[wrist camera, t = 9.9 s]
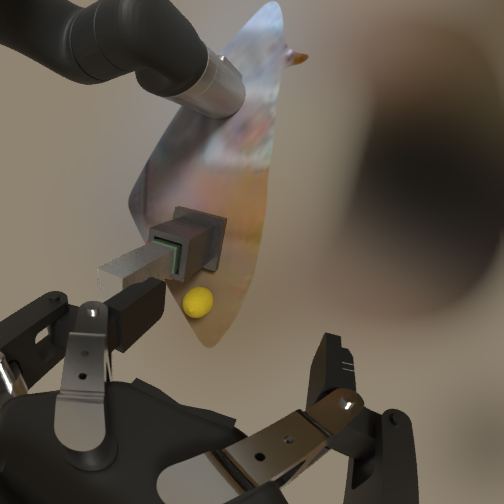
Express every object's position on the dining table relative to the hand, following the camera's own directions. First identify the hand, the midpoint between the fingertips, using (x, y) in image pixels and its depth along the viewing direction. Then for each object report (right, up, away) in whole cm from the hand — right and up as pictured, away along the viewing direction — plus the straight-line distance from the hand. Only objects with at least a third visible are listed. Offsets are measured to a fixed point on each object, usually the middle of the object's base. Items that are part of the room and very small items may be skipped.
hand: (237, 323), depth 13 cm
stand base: (-10, +6, +39) cm, 41 cm away
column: (-11, +4, +33) cm, 35 cm away
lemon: (-8, -5, +43) cm, 44 cm away
